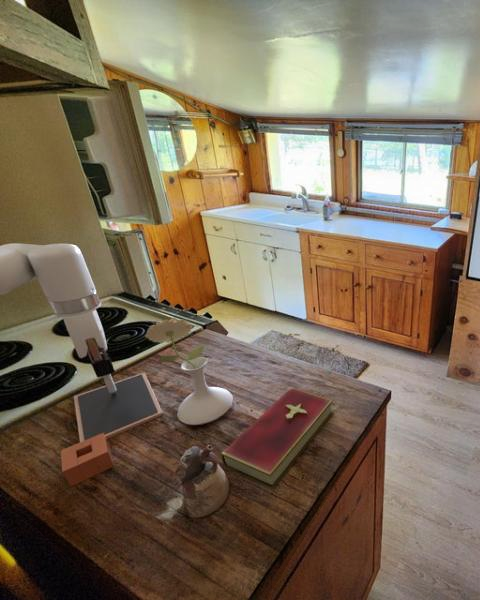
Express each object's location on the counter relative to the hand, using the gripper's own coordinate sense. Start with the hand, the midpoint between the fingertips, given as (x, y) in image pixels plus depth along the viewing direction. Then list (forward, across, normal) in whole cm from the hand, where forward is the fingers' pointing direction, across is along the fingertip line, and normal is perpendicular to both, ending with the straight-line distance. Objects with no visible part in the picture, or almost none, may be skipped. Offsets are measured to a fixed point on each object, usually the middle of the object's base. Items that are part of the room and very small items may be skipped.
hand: (105, 372), depth 77 cm
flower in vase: (+8, +20, +14) cm, 25 cm away
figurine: (+8, +43, +8) cm, 44 cm away
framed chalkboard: (+7, +5, 0) cm, 9 cm away
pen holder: (+7, +21, -6) cm, 23 cm away
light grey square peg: (+6, 0, 0) cm, 6 cm away
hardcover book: (+8, +39, +24) cm, 47 cm away
